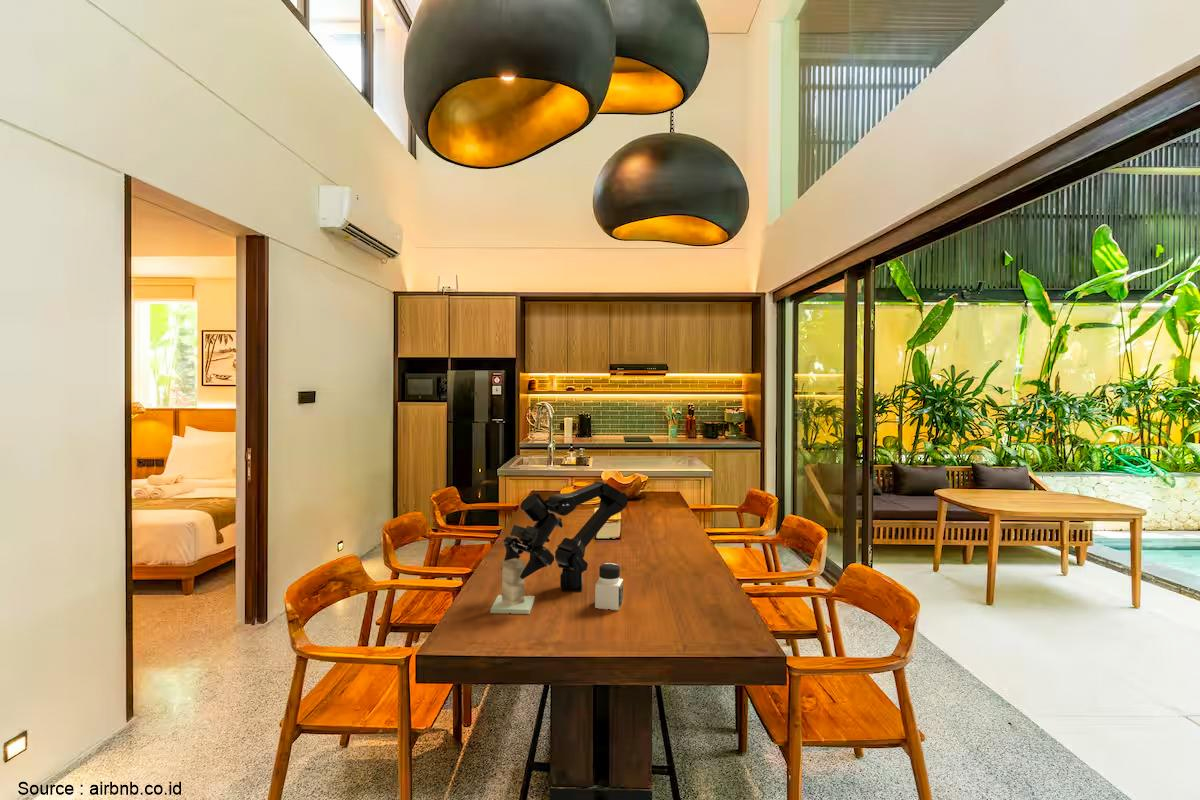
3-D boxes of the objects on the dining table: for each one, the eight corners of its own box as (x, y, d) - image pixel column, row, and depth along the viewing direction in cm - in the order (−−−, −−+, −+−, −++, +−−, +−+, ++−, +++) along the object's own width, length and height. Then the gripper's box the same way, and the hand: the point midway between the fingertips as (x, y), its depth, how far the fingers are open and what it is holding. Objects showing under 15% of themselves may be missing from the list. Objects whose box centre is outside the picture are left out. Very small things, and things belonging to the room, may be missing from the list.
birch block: (514, 598, 172) (515, 558, 172) (524, 602, 169) (524, 561, 169) (502, 602, 169) (502, 561, 169) (511, 606, 165) (511, 564, 165)
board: (534, 599, 174) (534, 595, 174) (529, 613, 163) (529, 609, 163) (498, 599, 174) (498, 595, 174) (490, 613, 163) (490, 608, 163)
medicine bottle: (619, 610, 166) (619, 569, 166) (594, 608, 168) (595, 567, 168) (623, 602, 173) (623, 562, 173) (599, 600, 175) (600, 560, 175)
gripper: (508, 509, 178) (477, 552, 171) (546, 519, 165) (514, 566, 157) (528, 530, 184) (499, 572, 176) (567, 542, 171) (537, 588, 163)
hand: (511, 574), depth 168 cm, fingers open, 9 cm apart
